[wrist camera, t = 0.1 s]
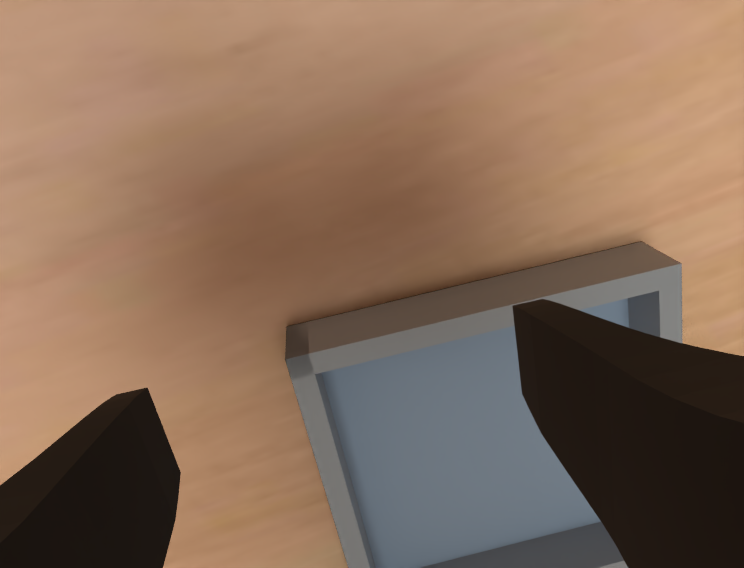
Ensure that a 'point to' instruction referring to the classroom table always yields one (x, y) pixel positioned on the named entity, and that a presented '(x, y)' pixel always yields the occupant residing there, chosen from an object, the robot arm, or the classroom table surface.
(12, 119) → the classroom table surface
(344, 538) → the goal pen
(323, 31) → the classroom table surface
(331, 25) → the classroom table surface
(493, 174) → the classroom table surface
